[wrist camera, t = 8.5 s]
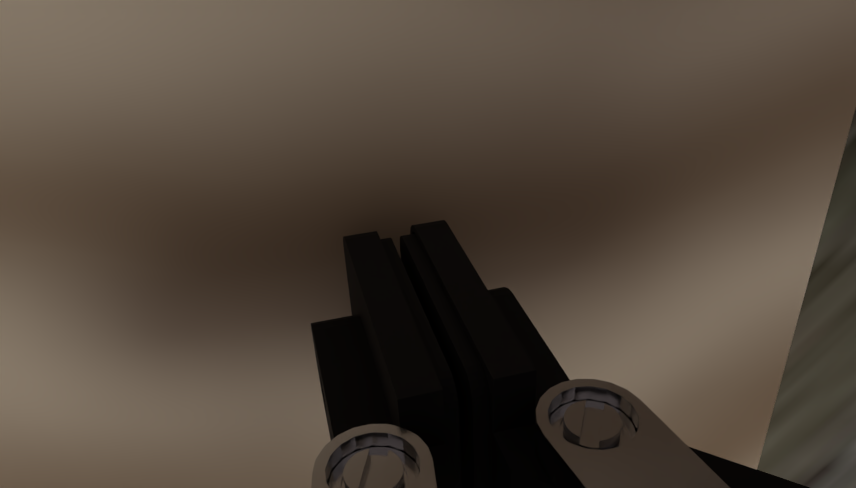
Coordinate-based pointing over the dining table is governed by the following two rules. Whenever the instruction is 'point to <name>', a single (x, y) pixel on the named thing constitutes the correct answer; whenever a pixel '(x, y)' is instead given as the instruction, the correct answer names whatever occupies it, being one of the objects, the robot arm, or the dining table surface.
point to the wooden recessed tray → (395, 208)
